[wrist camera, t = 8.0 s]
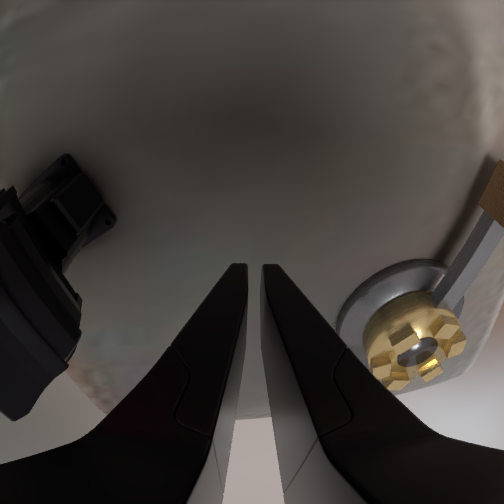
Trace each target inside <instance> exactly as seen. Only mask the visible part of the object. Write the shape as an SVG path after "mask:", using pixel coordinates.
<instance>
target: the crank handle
mask: <svg viewBox="0 0 504 504" xmlns="http://www.w3.org/2000/svg"><path fill="white" fill-rule="evenodd" d="M478 205H479V206H480V207H481V208H483V209H484V212H483V214H482V215H481V217H480V219H479V221H478V222H477V224H476V226H475V228H474V229H473V231H472V233H471V234H470V236H469V238H468V239H467V241H466V243H465V244H464V246H463V248H462V249H461V251H460V252H459V254H458V256H457V257H456V259H455V260H454V262H453V263H452V265H451V266H450V268H449V269H448V271H447V272H446V274H445V275H444V277H443V278H442V280H441V281H440V283H439V284H438V285H437V287H436V288H435V290H434V291H433V292H432V291H418V292H414V293H410V294H407V295H404V296H402V297H399V298H397V299H395V300H393V301H392V302H390V303H388V304H387V305H386V306H384V307H383V308H382V309H380V310H379V311H378V312H377V313H376V314H375V315H374V316H373V317H372V318H371V319H370V321H369V322H368V324H367V325H366V327H365V329H364V331H363V334H362V345H363V348H364V351H365V354H366V358H367V361H368V364H369V368H370V370H369V371H370V372H371V373H372V374H373V375H374V376H375V377H376V378H377V379H379V380H382V383H383V385H384V386H385V387H386V388H387V389H388V390H401V389H402V388H403V387H404V386H405V385H406V384H407V383H408V382H409V381H410V379H411V378H414V377H417V376H419V375H421V377H422V378H423V380H424V381H425V382H427V381H429V380H431V379H432V378H434V377H436V376H437V375H439V374H441V373H442V372H443V369H442V367H441V365H440V363H441V362H442V361H443V360H444V359H446V358H449V357H452V356H455V355H458V354H461V353H462V351H463V348H464V346H465V343H466V341H467V339H466V337H465V335H464V334H463V332H461V325H460V323H459V321H458V320H457V318H456V316H455V314H454V313H453V311H452V310H453V308H454V307H455V306H456V305H457V303H458V302H459V301H460V299H461V298H462V297H463V295H464V294H465V293H466V291H467V290H468V288H469V287H470V286H471V284H472V283H473V281H474V280H475V278H476V277H477V276H478V274H479V273H480V271H481V270H482V268H483V267H484V265H485V264H486V262H487V261H488V259H489V258H490V256H491V254H492V253H493V251H494V250H495V248H496V246H497V245H498V243H499V242H500V240H501V238H502V237H503V235H504V162H503V161H502V160H500V159H499V162H498V164H497V166H496V168H495V170H494V172H493V174H492V176H491V179H490V181H489V183H488V185H487V187H486V189H485V190H484V192H483V194H482V196H481V198H480V200H479V202H478Z"/></svg>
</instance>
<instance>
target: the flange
mask: <svg viewBox="0 0 504 504" xmlns="http://www.w3.org/2000/svg"><path fill="white" fill-rule="evenodd" d="M448 269H449V268H448V267H447V266H446V265H444V264H442V263H440V262H438V261H434V260H428V259H415V260H409V261H405V262H401V263H398V264H395V265H393V266H390V267H388V268H386V269H384V270H382V271H380V272H378V273H377V274H375V275H373V276H372V277H370V278H369V279H368V280H366V281H365V282H364V283H362V284H361V285H360V286H359V287H358V288H357V289H356V290H355V291H354V292H353V293H352V294H351V296H350V297H349V298H348V299H347V301H346V302H345V304H344V305H343V307H342V309H341V311H340V314H339V316H338V320H337V334H338V335H339V336H340V338H341V339H342V340H343V341H344V342H345V344H346V345H347V348H350V349H351V350H352V352H353V353H354V354H355V355H356V356H357V358H358V359H359V360H360V361H361V362H362V363H363V364H364V366H368V367H369V364H368V361H367V358H366V354H365V351H364V348H363V345H362V334H363V331H364V329H365V327H366V325H367V324H368V322H369V321H370V319H371V318H372V317H373V316H374V315H375V314H376V313H377V312H378V311H379V310H380V309H382V308H383V307H384V306H386V305H387V304H388V303H390V302H392V301H393V300H395V299H397V298H399V297H402V296H404V295H407V294H410V293H414V292H418V291H432V292H433V291H434V290H435V288H436V287H437V285H438V284H439V283H440V281H441V280H442V278H443V277H444V275H445V274H446V272H447V271H448ZM463 303H464V295H463V297H462V298H461V299H460V301H459V302H458V303H457V305H456V306H455V307H454V308H453V310H452V311H453V313H454V314H455V316H456V318H457V320H458V318H459V316H460V314H461V311H462V308H463Z"/></svg>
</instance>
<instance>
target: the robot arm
mask: <svg viewBox="0 0 504 504" xmlns="http://www.w3.org/2000/svg"><path fill="white" fill-rule="evenodd" d="M63 159H65V160H66V162H67V164H65V163H64V161H63ZM16 193H17V192H16V190H15V188H14V186H13V185H12V186H11V187H9V188H8V189H6V190H5V189H4V188H3V189H1V190H0V412H1V413H2V414H4V415H5V416H6V417H7V418H8V419H10V420H11V421H16V420H18V419H20V418H22V417H24V416H25V415H27V414H28V413H29V412H30V411H31V409H32V407H33V406H34V404H35V403H36V401H37V399H38V398H39V396H40V395H41V393H42V392H43V390H44V389H45V388H46V387H47V386H48V385H49V384H50V383H51V382H52V380H53V379H54V378H55V377H57V376H58V375H60V374H61V373H62V372H64V371H65V370H66V369H67V368H68V366H69V364H68V363H67V362H68V361H69V360H70V358H71V357H72V355H73V354H74V352H75V349H76V347H77V344H78V342H79V340H80V338H81V333H82V332H81V330H80V329H79V326H80V320H81V306H82V298H81V297H80V296H79V294H78V293H76V292H75V291H74V290H73V288H72V287H71V285H70V284H69V282H68V281H67V279H66V278H65V276H64V275H63V274H64V273H65V271H66V270H67V268H68V267H69V265H70V263H71V262H72V260H73V259H74V257H75V256H76V254H77V253H78V251H79V250H80V248H82V247H83V246H85V245H86V244H88V243H89V242H91V241H92V240H94V239H95V238H97V237H98V236H100V235H101V234H103V233H105V232H106V231H108V230H109V229H111V228H112V227H113V226H114V225H115V223H116V218H115V216H114V215H113V214H112V212H111V211H110V210H109V208H108V207H107V206H106V204H105V203H104V202H103V199H102V198H101V196H100V195H99V194H98V192H97V191H96V190H95V188H94V187H93V186H92V184H91V183H90V182H89V180H88V179H87V177H86V176H85V175H84V174H83V173H82V172H81V170H80V169H79V168H78V166H77V165H76V163H75V162H74V161H73V159H72V158H71V156H70V155H68V154H64V155H62V156H61V157H59V158H58V159H57V160H56V161H55V162H54V163H53V164H52V165H51V166H50V167H49V168H48V169H46V170H45V171H44V172H43V173H42V174H41V175H40V176H39V177H38V178H37V179H36V180H35V181H34V182H33V183H32V184H31V185H30V186H29V187H28V188H27V189H26V190H25V191H24V193H23V194H22V195H21V196H20V197H19V199H18V197H17V195H16ZM107 219H109V220H110V221H111V223H110V222H108V221H107ZM247 308H248V265H247V264H245V263H232V264H231V265H230V266H229V268H228V269H227V270H226V271H225V273H224V274H223V275H222V277H221V278H220V279H219V281H218V282H217V283H216V285H215V286H214V287H213V289H212V290H211V291H210V293H209V294H208V295H207V297H206V298H205V299H204V301H203V302H202V303H201V304H200V306H199V307H198V308H197V310H196V311H195V312H194V314H193V315H192V316H191V318H190V319H189V320H188V322H187V323H186V324H185V326H184V327H183V328H182V330H181V331H180V332H179V334H178V335H177V336H176V338H175V339H174V340H173V342H172V343H171V346H169V347H168V348H167V349H166V351H165V352H164V354H163V355H162V356H161V358H160V359H159V360H158V361H157V363H156V364H155V365H154V366H153V367H152V369H151V370H150V371H149V372H148V374H147V375H146V376H145V377H144V378H143V379H142V380H141V381H140V382H139V383H138V384H137V385H136V387H135V388H134V389H133V390H132V391H131V392H130V393H129V394H128V395H127V396H126V397H125V398H124V399H123V400H122V401H121V402H120V403H119V404H118V405H117V406H116V407H115V408H114V409H113V410H112V411H111V412H110V413H109V414H108V415H107V416H106V417H105V418H104V419H103V420H102V421H101V422H100V423H99V424H98V425H97V426H96V427H95V428H94V429H93V430H91V431H90V432H89V433H88V434H86V435H85V436H83V437H82V438H80V439H78V440H76V441H74V442H72V443H69V444H66V445H63V446H60V447H57V448H55V449H51V450H48V451H45V452H42V453H38V454H35V455H32V456H29V457H25V458H22V459H18V460H15V461H11V462H8V463H4V464H0V504H222V501H223V493H224V488H225V482H226V475H227V468H228V462H229V456H230V449H231V443H232V436H233V430H234V423H235V417H236V410H237V404H238V397H239V390H240V384H241V377H242V370H243V364H244V357H245V349H246V332H247ZM260 322H261V349H262V357H263V364H264V370H265V377H266V384H267V390H268V397H269V403H270V410H271V417H272V423H273V430H274V436H275V443H276V449H277V456H278V462H279V469H280V475H281V482H282V488H283V493H284V501H285V504H504V450H500V449H495V448H489V447H485V446H481V445H477V444H473V443H468V442H464V441H460V440H456V439H453V438H449V437H446V436H443V435H441V434H439V433H437V432H435V431H434V430H432V429H431V428H429V427H428V426H427V425H425V424H424V423H423V422H422V421H420V419H418V418H417V417H416V416H415V415H414V414H413V413H412V412H411V411H410V410H409V409H408V408H407V407H406V406H405V405H404V404H403V403H402V402H401V401H399V400H398V399H397V398H396V397H395V396H394V395H393V394H392V393H391V392H390V391H389V390H388V389H387V388H386V387H385V386H384V385H383V384H382V383H381V382H380V381H379V380H378V379H377V378H376V377H375V376H374V375H373V374H372V373H371V372H370V371H369V370H368V369H367V368H366V367H365V366H364V364H363V363H362V362H361V361H360V360H359V359H358V358H357V356H356V355H355V354H354V353H353V352H352V350H351V349H350V348H347V345H346V344H345V342H344V341H343V340H342V339H341V338H340V336H339V335H338V334H337V333H336V332H335V330H334V329H333V328H332V327H331V326H330V325H329V323H328V322H327V321H326V320H325V319H324V317H323V316H322V315H321V314H320V313H319V311H318V310H317V309H316V308H315V307H314V306H313V304H312V303H311V302H310V301H309V300H308V299H307V297H306V296H305V295H304V294H303V293H302V291H301V290H300V289H299V288H298V287H297V286H296V284H295V283H294V282H293V281H292V280H291V279H290V277H289V276H288V275H287V274H286V273H285V271H284V270H283V269H282V268H281V267H280V266H279V265H278V264H263V266H262V273H261V287H260Z"/></svg>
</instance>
